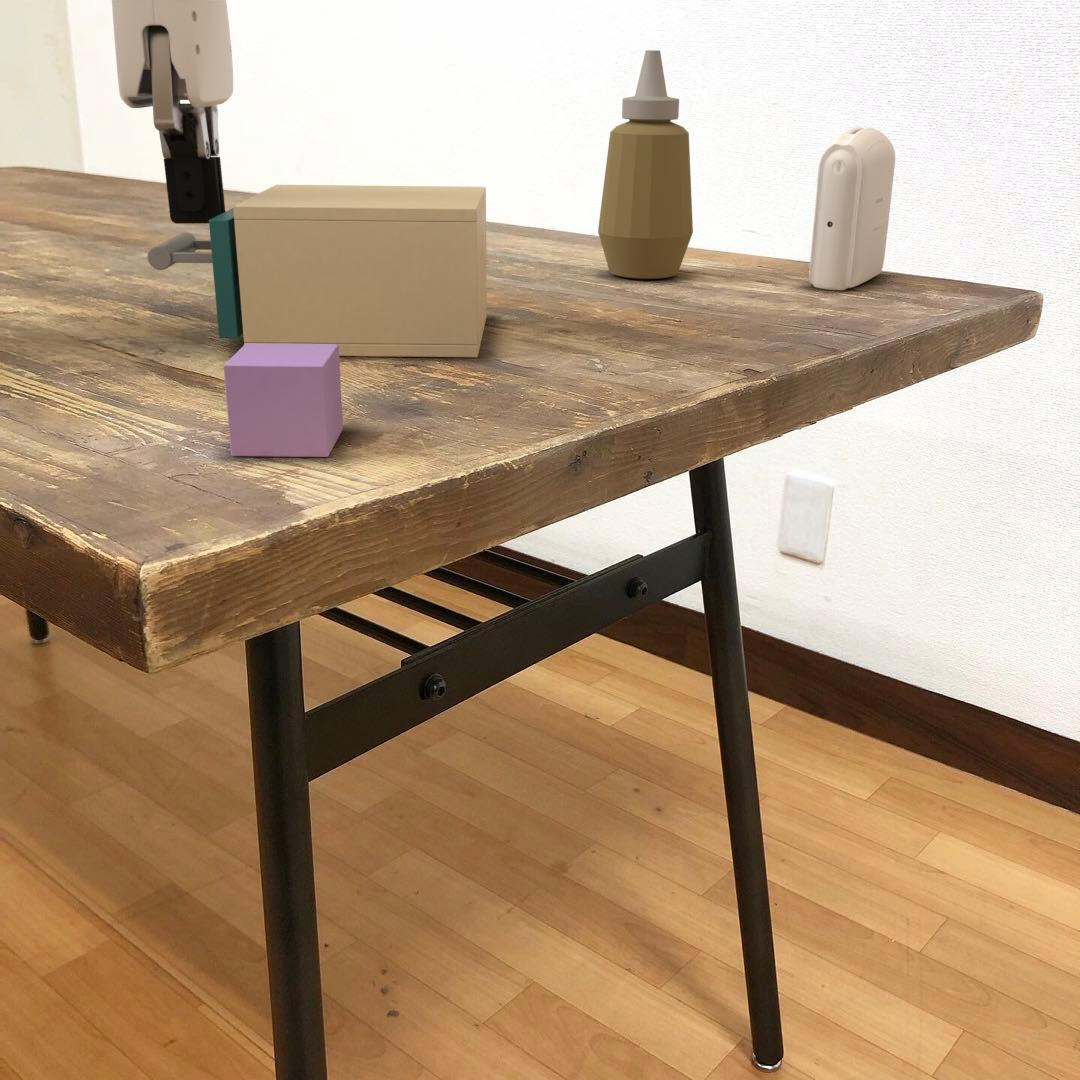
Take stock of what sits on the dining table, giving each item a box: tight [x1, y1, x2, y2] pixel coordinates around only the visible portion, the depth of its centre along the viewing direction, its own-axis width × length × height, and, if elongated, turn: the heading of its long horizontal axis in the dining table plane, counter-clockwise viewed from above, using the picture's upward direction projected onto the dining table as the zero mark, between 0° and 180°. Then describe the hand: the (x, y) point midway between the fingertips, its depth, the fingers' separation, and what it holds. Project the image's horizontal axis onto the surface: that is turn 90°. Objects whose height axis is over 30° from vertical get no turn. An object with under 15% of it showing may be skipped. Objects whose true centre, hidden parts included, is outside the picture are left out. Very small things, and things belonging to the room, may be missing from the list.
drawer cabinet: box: [232, 184, 488, 358], centre depth 81 cm, size 15×13×9 cm
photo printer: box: [808, 126, 896, 291], centre depth 102 cm, size 10×4×12 cm, turn 149°
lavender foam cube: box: [223, 343, 344, 458], centre depth 60 cm, size 5×5×4 cm
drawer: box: [146, 207, 243, 340], centre depth 81 cm, size 18×11×7 cm, turn 90°
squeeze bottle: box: [597, 49, 694, 280], centre depth 103 cm, size 8×8×18 cm
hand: (198, 221), depth 80 cm, fingers closed
